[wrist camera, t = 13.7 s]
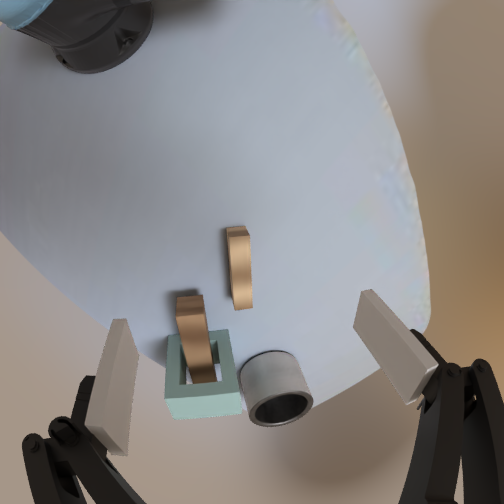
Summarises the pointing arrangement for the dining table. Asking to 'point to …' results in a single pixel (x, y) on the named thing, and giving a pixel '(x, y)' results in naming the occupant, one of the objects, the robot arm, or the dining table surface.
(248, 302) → the rail
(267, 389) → the planter
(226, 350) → the green rectangular frame
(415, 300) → the dining table surface
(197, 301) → the brown wooden long bar
